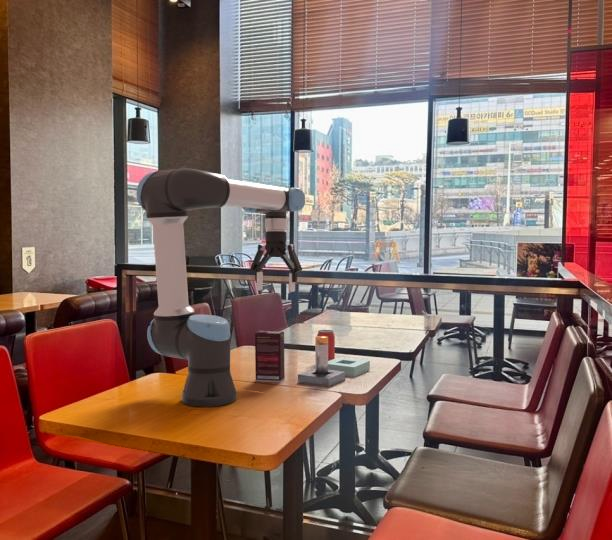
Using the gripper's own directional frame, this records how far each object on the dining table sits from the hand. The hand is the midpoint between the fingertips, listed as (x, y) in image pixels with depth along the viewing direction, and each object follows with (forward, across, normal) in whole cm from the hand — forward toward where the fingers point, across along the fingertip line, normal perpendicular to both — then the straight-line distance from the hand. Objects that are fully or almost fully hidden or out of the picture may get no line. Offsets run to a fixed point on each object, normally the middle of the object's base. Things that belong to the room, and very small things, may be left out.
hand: (275, 290), depth 207 cm
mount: (+27, -26, +13) cm, 40 cm away
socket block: (+27, -26, -4) cm, 38 cm away
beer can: (+27, -13, -13) cm, 33 cm away
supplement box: (+27, -10, +20) cm, 35 cm away
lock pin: (+27, -26, +13) cm, 39 cm away
